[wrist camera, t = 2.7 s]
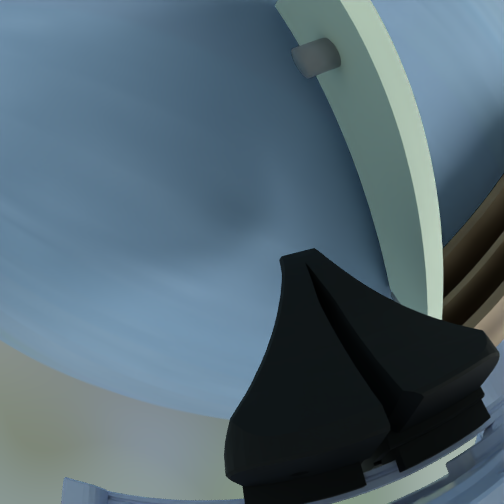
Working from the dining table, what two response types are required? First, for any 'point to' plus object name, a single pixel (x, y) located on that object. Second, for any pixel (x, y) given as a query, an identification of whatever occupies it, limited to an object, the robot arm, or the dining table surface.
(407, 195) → the door
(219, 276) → the dining table surface
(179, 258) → the dining table surface
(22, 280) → the dining table surface
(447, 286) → the cabinet
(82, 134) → the dining table surface
